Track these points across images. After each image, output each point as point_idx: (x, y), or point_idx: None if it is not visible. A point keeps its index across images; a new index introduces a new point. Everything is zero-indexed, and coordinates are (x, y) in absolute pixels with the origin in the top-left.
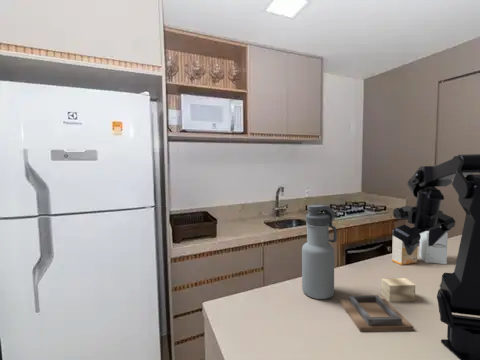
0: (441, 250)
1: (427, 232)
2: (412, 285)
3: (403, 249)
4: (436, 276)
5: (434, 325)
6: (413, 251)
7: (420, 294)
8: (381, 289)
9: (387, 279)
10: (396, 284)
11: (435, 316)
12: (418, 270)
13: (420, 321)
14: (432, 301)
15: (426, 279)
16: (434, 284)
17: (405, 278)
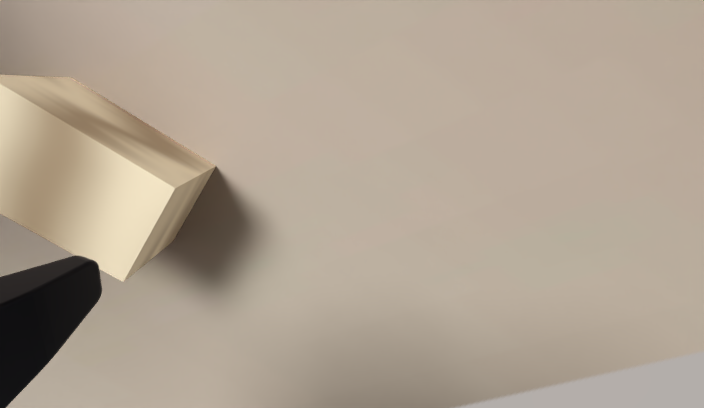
0: None
1: None
2: (103, 270)
3: None
4: (663, 170)
5: (33, 381)
6: (9, 391)
7: (281, 224)
8: (49, 77)
9: (18, 111)
10: (2, 201)
11: (112, 357)
12: (699, 36)
13: None
14: (253, 295)
15: (551, 151)
16: (503, 215)
17: (166, 189)
